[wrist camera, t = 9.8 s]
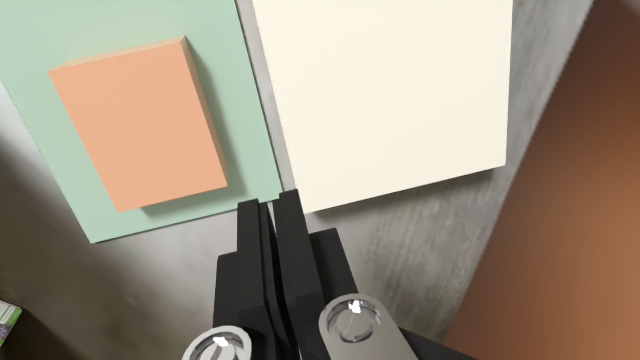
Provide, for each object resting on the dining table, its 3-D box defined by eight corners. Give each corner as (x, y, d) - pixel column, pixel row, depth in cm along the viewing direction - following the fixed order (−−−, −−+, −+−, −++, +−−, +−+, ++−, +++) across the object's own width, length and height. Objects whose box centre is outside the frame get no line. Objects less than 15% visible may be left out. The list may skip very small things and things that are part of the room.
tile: (179, 42, 22) (185, 34, 25) (47, 70, 22) (64, 60, 24) (227, 185, 27) (228, 168, 29) (117, 212, 26) (126, 193, 28)
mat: (-38, 2, 22) (-42, 3, 22) (221, -49, 23) (221, -49, 23) (92, 240, 30) (90, 243, 30) (283, 194, 31) (283, 197, 31)
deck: (241, -43, 24) (242, -44, 20) (477, -90, 24) (516, -99, 21) (295, 185, 31) (302, 214, 27) (476, 142, 32) (505, 164, 28)
